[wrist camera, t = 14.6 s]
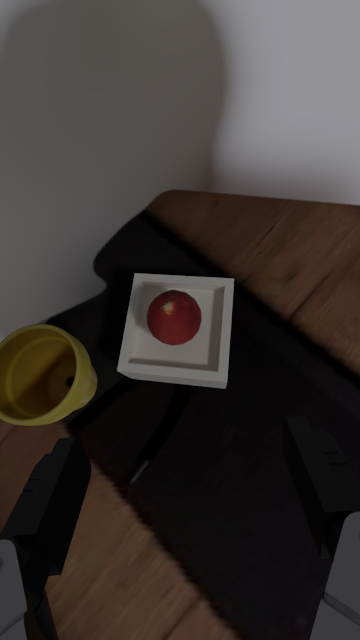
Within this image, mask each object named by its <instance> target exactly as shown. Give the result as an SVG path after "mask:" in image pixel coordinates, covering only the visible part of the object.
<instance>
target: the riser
mask: <svg viewBox="0 0 360 640" xmlns="http://www.w3.org/2000/svg"><path fill="white" fill-rule="evenodd" d="M233 288H234V279H231V278H212V277H194V276H176V275H158V274H140V273H135V275H134V281H133V286H132V292H131V297H130V303H129V308H128V314H127V319H126V325H125V330H124V335H123V341H122V346H121V352H120V357H119V363H118V368H117V371H118V372H120V373H122V374H124V375H126V376H128V377H130V378H132V379H141V380H150V381H159V382H168V383H178V384H187V385H196V386H206V387H215V388H224V389H225V388H226V384H227V377H228V362H229V347H230V332H231V318H232V303H233ZM170 290H178V291H182V292H186V293H187V294H189V295H190V296H191V297H193V298H194V299H195V300H196V302H197V304H198V306H199V307H200V309H201V317H202V321H201V325H200V329H199V331H198V332H197V334H196V335H195V336H194V337H193V339H192V340H190V341H188V342H186V343H184V344H182V345H173V346H172V345H168V344H164V343H162V342H160V341H159V340H157V339H156V338H155V337H153V335H152V334H151V332H150V330H149V328H148V326H147V312H148V308H149V305H150V304H151V302H152V301H153V300H154V298H155V297H157V296H158V295H160V294H161V293H163V292H166V291H170Z"/></svg>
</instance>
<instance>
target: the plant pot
mask: <svg viewBox="0 0 360 640" xmlns="http://www.w3.org/2000/svg"><path fill="white" fill-rule="evenodd" d="M72 377H74V382H73V384H72V386H71V387H70V386H68V380H69V379H70V378H72ZM96 387H97V376H96V372H95V370H94V368H93V367H92V365H91V362H90V358H89V355H88V353H87V351H86V349H85V348H84V346H83V345H82V344H81V343H80V342H79V341H78V340H77V339H76V338H74V337H73V336H72V335H70V334H69V333H67V332H66V331H64V330H62V329H60V328H58V327H56V326H52V325H47V324H35V325H30V326H26V327H23V328H21V329H18V330H16V331H15V332H13V333H12V334H10V335H9V336H7V337H6V338H5V339H4V340H3V341H2V342H1V343H0V418H1V419H2V420H4V421H6V422H8V423H12V424H16V425H44V424H49V423H53V422H56V421H58V420H60V419H62V418H64V417H65V416H67V415H68V414H70V413H71V412H72V411H73V410H77V409H79V408H81V407H83V406H84V405H86V404H87V403H88V402H89V401H90V400H91V398H92V397H93V395H94V393H95V391H96Z"/></svg>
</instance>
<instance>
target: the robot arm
mask: <svg viewBox="0 0 360 640" xmlns="http://www.w3.org/2000/svg"><path fill="white" fill-rule="evenodd" d="M282 427H283V452H284V456H285V460H286V463H287V466H288V469H289V472H290V474H291V477H292V480H293V483H294V486H295V488H296V491H297V494H298V497H299V500H300V503H301V505H302V508H303V511H304V514H305V517H306V519H307V522H308V525H309V528H310V531H311V534H312V536H313V539H314V542H315V545H316V548H317V551H318V553H319V556H320V559H324V558H331V561H332V563H333V564H332V568H331V572H330V575H329V579H328V583H327V586H326V590H325V593H324V595H323V596H322V599H321V602H320V605H319V608H318V612H317V616H316V619H315V623H314V626H313V630H312V634H311V637H310V640H360V484H359V482H358V480H357V478H356V477H355V475H354V473H353V471H352V470H351V468H350V466H349V465H348V464H347V461H346V459H345V457H344V455H343V454H342V453H341V450H340V448H339V447H338V445H337V443H336V441H335V440H334V438H333V437H332V436H331V435H330V434H329V433H327V432H326V431H325V430H324V429H323V428H322V427H319V428H311V427H310V425H309V423H308V421H307V419H306V417H305V415H304V414H299V415H290V416H283V420H282ZM90 477H91V463H90V460H89V458H88V455H87V453H86V451H85V448H84V446H83V443H82V441H81V439H80V438H79V437H71V438H61V439H59V440H58V441H57V442H56V444H55V446H54V448H53V450H52V452H51V454H45V455H44V457H43V458H42V459H41V460H40V461H39V462H38V463H37V464H36V465H35V467H34V469H33V471H32V473H31V475H30V477H29V479H28V482H27V483H26V485H25V487H24V489H23V493H21V495H20V497H19V499H18V500H17V502H16V504H15V506H14V508H13V510H12V512H11V514H10V516H9V518H8V520H7V522H6V524H5V526H4V528H3V530H2V532H1V534H0V640H59V639H58V636H57V632H56V628H55V624H54V620H53V616H52V613H51V609H50V605H49V601H48V597H47V593H46V590H45V585H46V582H47V579H48V576H53V575H61V573H62V570H63V566H64V563H65V560H66V556H67V553H68V550H69V547H70V543H71V540H72V537H73V533H74V530H75V527H76V524H77V520H78V517H79V514H80V510H81V507H82V504H83V501H84V497H85V494H86V491H87V487H88V484H89V481H90Z"/></svg>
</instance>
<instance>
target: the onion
mask: <svg viewBox="0 0 360 640" xmlns="http://www.w3.org/2000/svg"><path fill="white" fill-rule="evenodd" d="M201 321H202V317H201V309H200V307H199V306H198V304H197V302H196V300H195V299H194V298H193V297H191V296H190V295H189V294H187V293H186V292H182V291H178V290H170V291H166V292H163V293H161V294H160V295H158V296H157V297H155V298H154V300H153V301H152V302H151V304H150V305H149V308H148V312H147V326H148V328H149V330H150V332H151V334H152V335H153V337H155V338H156V339H157V340H159V341H160V342H162V343H164V344H168V345H172V346H173V345H182V344H184V343H186V342H188V341H190V340H192V339H193V337H194V336H195V335H196V334H197V332H198V331H199V329H200V325H201Z"/></svg>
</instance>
